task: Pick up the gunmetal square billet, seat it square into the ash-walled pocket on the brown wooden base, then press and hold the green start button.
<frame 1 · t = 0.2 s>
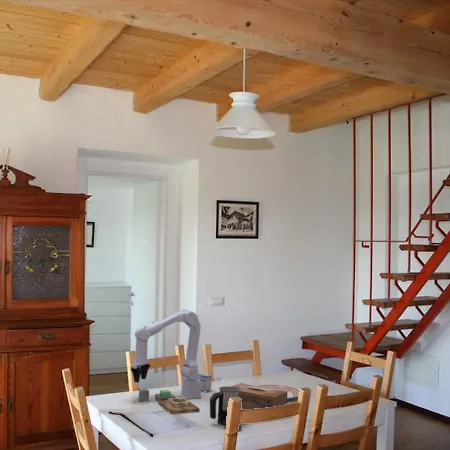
hand: (140, 380, 285), 10 cm above the table, tool pointing down, fingers open, 7 cm apart
billet: (143, 400, 285), on the table
milk frother: (230, 425, 251), on the table
button housing: (165, 400, 287), on the table
tissue box cover: (255, 411, 276), on the table
start button: (165, 393, 287), point 3 cm above the table, slide at 0.0 cm
dinner plate: (274, 396, 306), on the table
medicine box: (202, 391, 310), on the table
brown wooden base: (178, 407, 275), on the table
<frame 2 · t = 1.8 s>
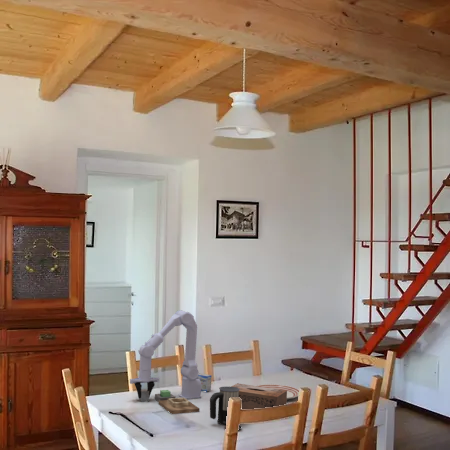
hand: (143, 397, 286), 1 cm above the table, tool pointing down, fingers closed on billet, 4 cm apart
billet: (143, 400, 285), on the table, touching gripper
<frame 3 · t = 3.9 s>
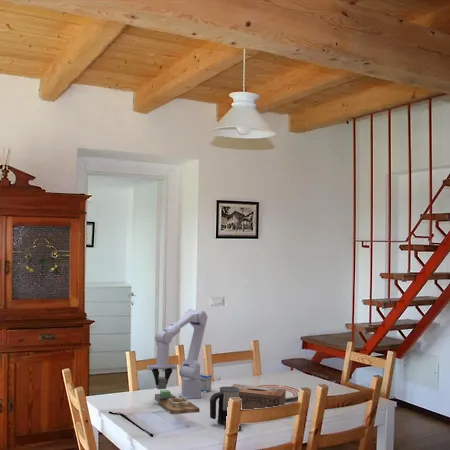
hand: (161, 384, 281), 9 cm above the table, tool pointing down, fingers closed on billet, 4 cm apart
billet: (161, 388, 281), point 8 cm above the table, touching gripper
when the fingers open (4 cm above the table, at t = 5.9 s): billet stays where it is, resting on brown wooden base.
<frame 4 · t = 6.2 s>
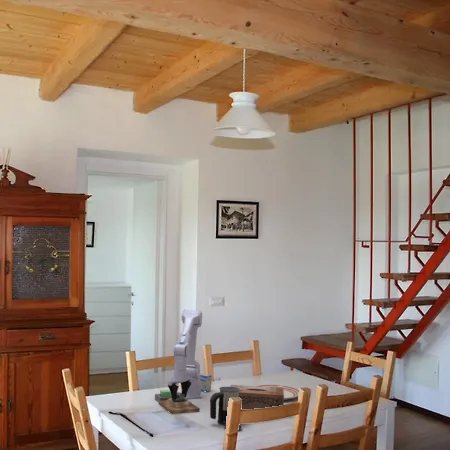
hand: (178, 398, 275), 4 cm above the table, tool pointing down, fingers open, 6 cm apart
billet: (178, 404, 275), point 1 cm above the table, touching brown wooden base
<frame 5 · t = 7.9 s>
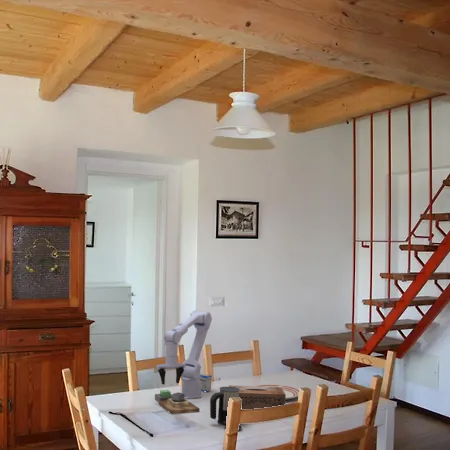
hand: (170, 383, 283), 9 cm above the table, tool pointing down, fingers open, 7 cm apart
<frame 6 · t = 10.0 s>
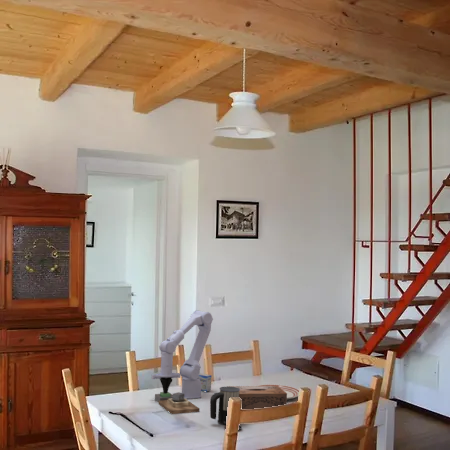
hand: (165, 393, 287), 4 cm above the table, tool pointing down, fingers closed, pressing on start button
start button: (165, 395, 287), point 3 cm above the table, slide at 0.9 cm, touching gripper
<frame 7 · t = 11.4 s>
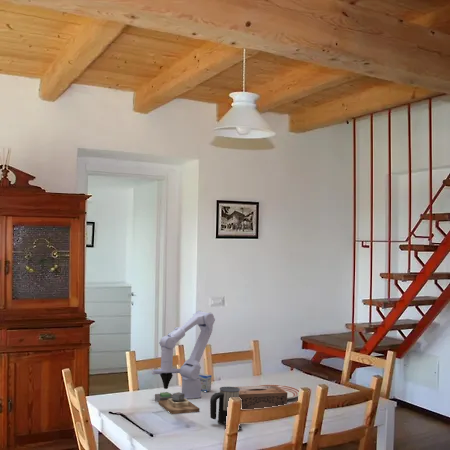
hand: (165, 388, 287), 6 cm above the table, tool pointing down, fingers closed
start button: (165, 395, 287), point 2 cm above the table, slide at 1.1 cm
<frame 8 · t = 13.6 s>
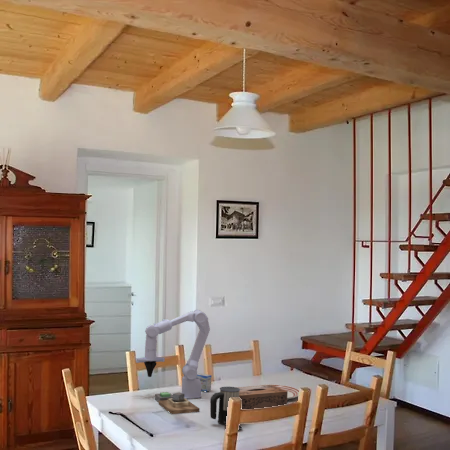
hand: (149, 376, 292), 10 cm above the table, tool pointing down, fingers closed
at the end: billet 0.3 cm off-centre on the brown wooden base, point 1.5 cm above the brown wooden base's base; billet tilted 0°; start button slide at 1.1 cm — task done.
